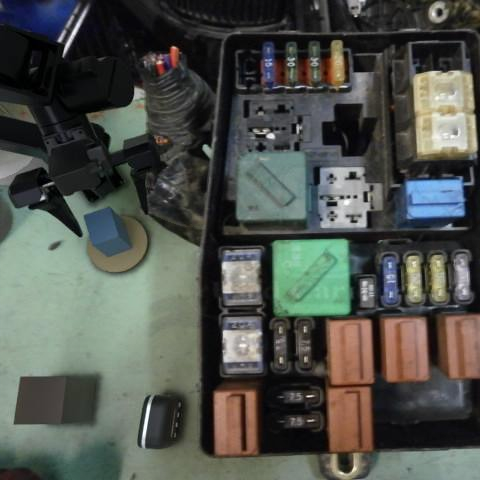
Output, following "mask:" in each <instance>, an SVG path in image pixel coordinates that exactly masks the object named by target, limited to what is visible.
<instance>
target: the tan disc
mask: <svg viewBox="0 0 480 480" xmlns="http://www.w3.org/2000/svg"><path fill="white" fill-rule="evenodd" d="M118 216H119V217H120V218H121V219H122V220H123V221H124V223H125V226H126V229H127V233H128V236H129V239H130V242H131V245H132V249H130V250H127V251H124V252H121V253H119V254H116V255H113V256H110V257H107V256H106V255H104V254H103V253H102V252H100V251H99V250H98V249H96V248H95V247H94V246H92V243H91V240H90V237H89V236H88V238H87V246H86V248H87V254H88V257H89V259H90V260H91V262H92V263H93V264H94V265H95V266H96V267H97V268H99V269H100V270H103V271H105V272H110V273H124V272H127V271H129V270H132V269H134V268H135V267H136V266H138V265H139V264H140V263H141V262H142V260H143V259H144V257H145V256H146V254H147V250H148V246H149V242H148V240H149V239H148V236H147V232H146V230H145V228H144V226H143V225H142V224H141V223H140V222H139V221H138V220H137V219H134V218H133V217H131V216H127V215H118Z"/></svg>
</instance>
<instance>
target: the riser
mask: <svg viewBox="0 0 480 480" xmlns="http://www.w3.org/2000/svg"><path fill="white" fill-rule="evenodd" d="M96 386H97V378H90V377H79V376H69V375H59V376H58V375H49V376H48V375H47V376H46V375H45V376H44V375H41V376H39V375H34V376H33V375H31V376H27V375H26V376H23V375H22V376H21V375H20V377H19V382H18V389H17V397H16V404H15V410H14V418H13V425H14V426H17V425H18V426H19V425H21V426H22V425H23V426H26V425H28V426H29V425H66V424H74V423H83V422H92V421H93V414H94V406H95V397H96V396H95V395H96Z"/></svg>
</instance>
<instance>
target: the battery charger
mask: <svg viewBox="0 0 480 480" xmlns="http://www.w3.org/2000/svg"><path fill="white" fill-rule="evenodd" d="M183 410H184V401H183V400H182V398H180V397H178V396H175V395H171V394H167V395H165V394H162V393H153V394H148V395H146V397H145V398H144V401H143V403H142V408H141V415H140V419H139V426H138V432H137V440H136V441H137V442H136V443H137V446H138V448H140V449H143V450H164V449H168V448H170V447H172V445H173V443H174V442H176V441H177V440H178V438H179V435H180V430H181V423H182V418H183V417H182V416H183Z"/></svg>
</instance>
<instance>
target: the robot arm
mask: <svg viewBox="0 0 480 480" xmlns="http://www.w3.org/2000/svg"><path fill="white" fill-rule="evenodd" d="M65 47H66V45H65V44H64V43H62V42H59V41H56V40H53V39H50V38H49V35H46V34H43V33H39V32H36V31H32V30H28V29H23V28H19V27H16V26H13V25H11V24H8V23H2V22H0V102H1V103H6V104H12V105H13V104H14V105H20V106H27V108H28V110H29V113H30V114H31V115H32V118H33V120H34V122H31V121H28V120H24V119H19V118H14V117H10V116H7V115H3V114H0V151H3V152H8V153H13V154H18V155H23V156H26V157H32V158H36V159H40V160H42V161H43V162H44V163H45V164H46V165H47V169H46V168H44V167H43V166H39V167H36V168H34V169H30V170H27V171H23V172H21V173H17V174H16V175H14V177H13V179H12V181H11V183H10V184H9V186H8V188H7V190H6V192H7V197H8V199H9V201H10V202H11V204H12V206H13V207H14V209H18V210H19V209H22V208H25V207H27V209H28V210H29V211H35V210H39V211H43V212H46V213H48V214H49V215H51V216H52V217H54V218H55V219H57V220H58V221H59V222H60V223H62V225H64V226H65V227H66V228H67V229H69V230H70V231H71V232H72V233H73V234H74V235H75V236H76V237H78V238H83V236H84V232H83V230H82V227H81V225H80V223H79V221H78V219H77V218H76V216H75V214H74V212H73V211H72V209H71V207H70V206H69V204H68V201H66V199H65V197H70V196H73V195H75V193H78V192H82V193H83V195H84V196H85V198H86V199H87V201H88V202H89V203H91V204H93V203H95V202H97V201H99V200H100V199H104V198H106V197H107V196H109V195H111V194H112V193H114V192H115V191H116V190H118V189H119V188H120V187H122V186H124V185H125V180H124V178H123V177H122V175H121V174H120V172H119V171H118V169H117V168H116V167H120V166H123V165H127V166H128V167H129V168H130V171H129V172H130V173H129V174H130V175H129V176H130V178H131V181H132V182H133V185H134V188H135V190H136V191H135V192H136V194H137V198H138V201H139V203H140V207H141V209H142V211H143V213H144V215H145V216H148V215H149V204H148V203H149V202H148V191H147V174H148V173H150V172H152V171H153V170H154V165H156V164H158V163H160V162H161V149H160V146H159V144H158V141H157V139H156V137H155V136H154V135H153V134H151V133H150V132H146V133H143V134H140V135H136V136H133V137H130V138H127V139H124V140H123V143H122V148H121V149H118V150H115V151H112V152H110V148H111V143H112V142H111V141H112V137H111V136H110V133H107V132H106V130H105V128H104V127H103V126H102V125H101V124H98V123H95V122H91V121H90V119H89V116H88V115H89V114H93V113H94V114H95V113H100V112H105V111H112V110H118V109H122V108H127V107H129V106H130V105H131V104H132V103H133V101H134V98H135V82H134V81H135V80H134V78H133V75H132V73H131V70H130V69H129V68H128V66H127V65H126V63H125V62H124V61H123V60H122V59H120V58H118V57H114V56H104V57H100V58H97V57H96V56H95V55H89V56H85V57H82V58H80V59H76V60H73V61H69V60H68V59H66V58H65V57H64V52H65V49H66V48H65ZM35 52H40V57H39V62H38V67H32V64H33V60H34V59H33V58H34V54H35ZM31 67H32V68H31Z"/></svg>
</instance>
